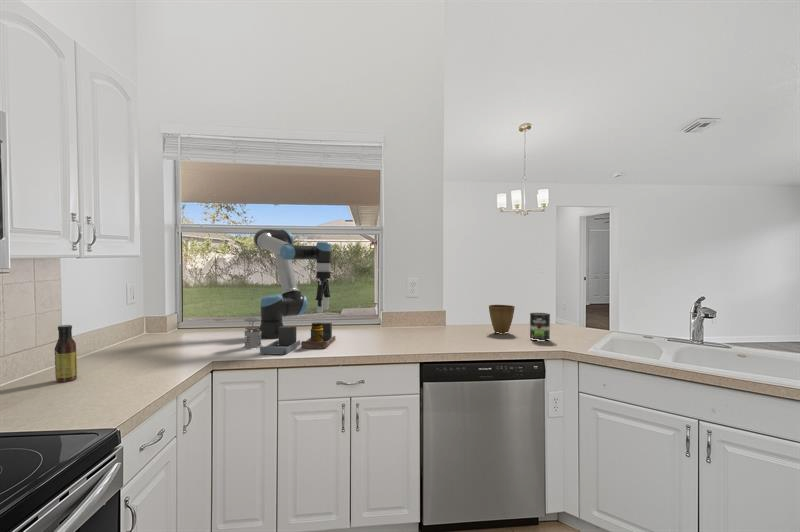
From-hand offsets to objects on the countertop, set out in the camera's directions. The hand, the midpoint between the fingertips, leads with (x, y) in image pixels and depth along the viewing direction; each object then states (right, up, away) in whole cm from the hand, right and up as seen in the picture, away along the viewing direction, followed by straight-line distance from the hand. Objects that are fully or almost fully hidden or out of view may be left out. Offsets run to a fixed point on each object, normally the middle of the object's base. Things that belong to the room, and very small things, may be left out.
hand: (323, 311), depth 230 cm
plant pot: (+101, -16, +24) cm, 105 cm away
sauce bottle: (-79, -17, -75) cm, 110 cm away
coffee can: (+116, -16, +3) cm, 117 cm away
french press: (-32, -16, -16) cm, 39 cm away
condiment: (-1, -17, -17) cm, 23 cm away
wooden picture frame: (0, -16, -10) cm, 19 cm away
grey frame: (-16, -16, -23) cm, 32 cm away
